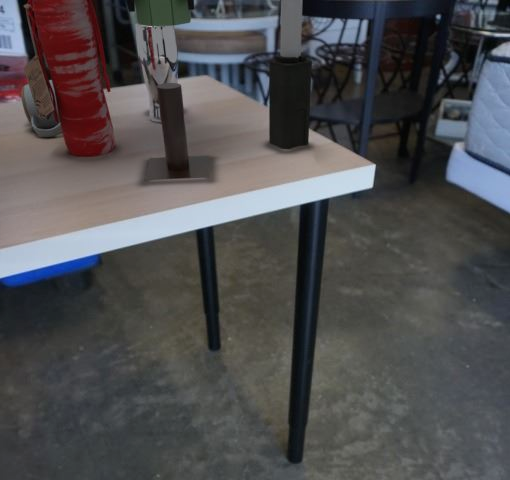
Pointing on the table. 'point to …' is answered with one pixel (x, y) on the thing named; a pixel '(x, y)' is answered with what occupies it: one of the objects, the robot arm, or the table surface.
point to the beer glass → (157, 60)
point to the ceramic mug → (34, 118)
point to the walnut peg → (175, 141)
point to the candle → (290, 83)
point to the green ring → (162, 12)
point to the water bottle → (70, 73)
